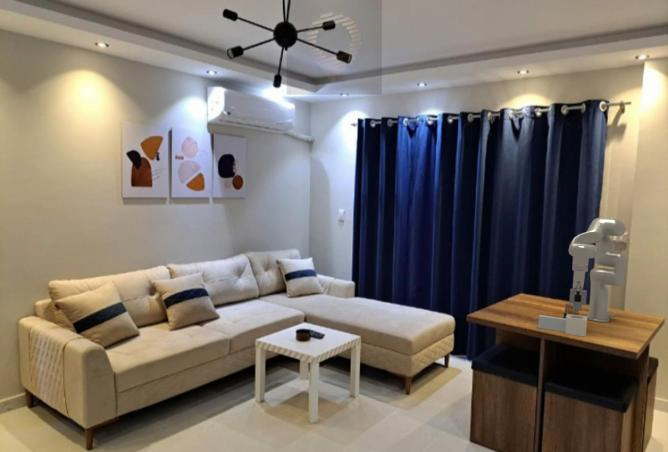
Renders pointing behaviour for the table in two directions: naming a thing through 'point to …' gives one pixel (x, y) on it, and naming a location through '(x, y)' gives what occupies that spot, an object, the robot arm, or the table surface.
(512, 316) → the table surface
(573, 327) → the headboard post
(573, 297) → the steel bracket
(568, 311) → the ammunition clip
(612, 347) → the table surface
